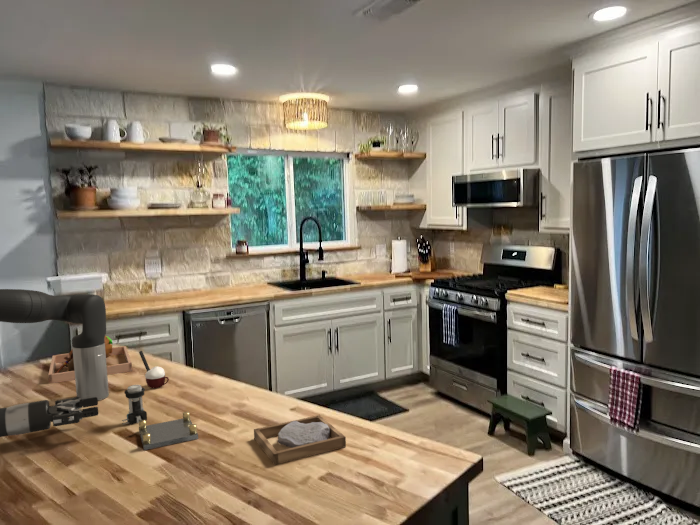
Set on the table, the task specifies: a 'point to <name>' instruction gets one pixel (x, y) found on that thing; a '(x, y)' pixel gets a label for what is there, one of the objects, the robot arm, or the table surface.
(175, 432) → the plate
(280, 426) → the block coaster frame
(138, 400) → the push button
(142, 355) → the cocoa
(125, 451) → the table surface
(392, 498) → the table surface
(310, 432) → the stone block
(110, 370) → the wooden tray
